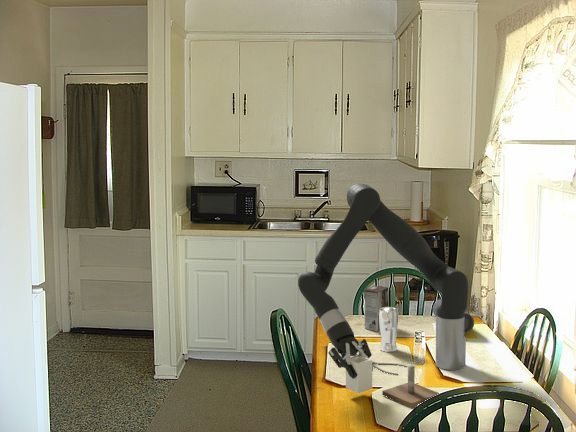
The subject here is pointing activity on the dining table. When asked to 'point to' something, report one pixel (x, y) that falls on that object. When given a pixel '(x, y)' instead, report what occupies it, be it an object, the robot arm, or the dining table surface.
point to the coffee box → (375, 305)
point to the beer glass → (388, 328)
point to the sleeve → (360, 374)
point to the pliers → (386, 364)
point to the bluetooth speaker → (467, 318)
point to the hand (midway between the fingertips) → (363, 374)
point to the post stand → (409, 391)
